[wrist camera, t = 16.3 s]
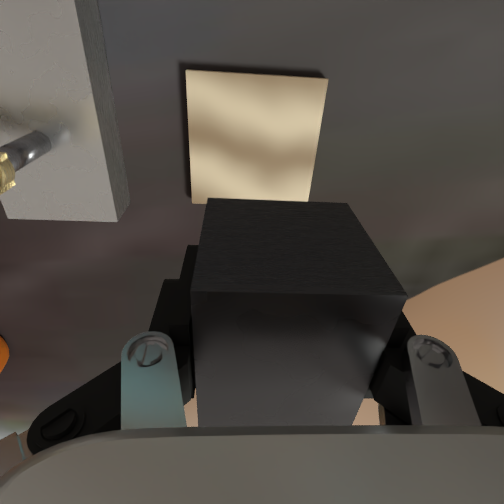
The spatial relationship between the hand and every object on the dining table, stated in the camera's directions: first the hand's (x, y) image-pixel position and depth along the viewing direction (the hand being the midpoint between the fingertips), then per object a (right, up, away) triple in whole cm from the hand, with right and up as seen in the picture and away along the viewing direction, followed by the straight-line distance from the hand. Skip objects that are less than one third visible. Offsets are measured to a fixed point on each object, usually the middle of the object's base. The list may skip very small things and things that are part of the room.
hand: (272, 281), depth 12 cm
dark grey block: (0, 0, +1) cm, 1 cm away
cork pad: (-1, +11, +16) cm, 19 cm away
